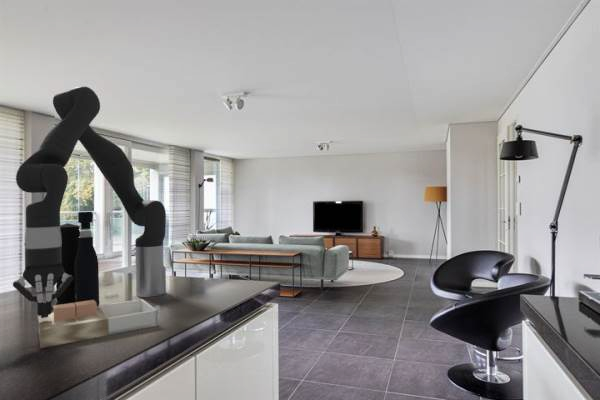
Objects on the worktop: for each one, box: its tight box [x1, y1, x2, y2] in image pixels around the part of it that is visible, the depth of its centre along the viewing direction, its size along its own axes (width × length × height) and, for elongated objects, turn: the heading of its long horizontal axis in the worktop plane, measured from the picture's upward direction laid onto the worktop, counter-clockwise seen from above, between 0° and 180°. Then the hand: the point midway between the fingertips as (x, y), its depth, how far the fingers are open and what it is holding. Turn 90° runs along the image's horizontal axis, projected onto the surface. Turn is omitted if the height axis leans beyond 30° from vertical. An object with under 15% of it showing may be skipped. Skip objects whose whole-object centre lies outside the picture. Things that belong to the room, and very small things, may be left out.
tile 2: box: [74, 300, 97, 318], centre depth 102 cm, size 4×4×3 cm
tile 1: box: [52, 303, 76, 322], centre depth 99 cm, size 4×4×3 cm
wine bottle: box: [75, 211, 100, 306], centre depth 121 cm, size 6×6×30 cm
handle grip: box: [51, 222, 81, 311], centre depth 126 cm, size 10×26×10 cm
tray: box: [99, 298, 159, 336], centre depth 107 cm, size 12×16×4 cm
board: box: [37, 306, 110, 349], centre depth 100 cm, size 14×16×4 cm
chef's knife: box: [153, 304, 162, 315], centre depth 118 cm, size 19×1×3 cm
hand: (44, 316), depth 97 cm, fingers closed
